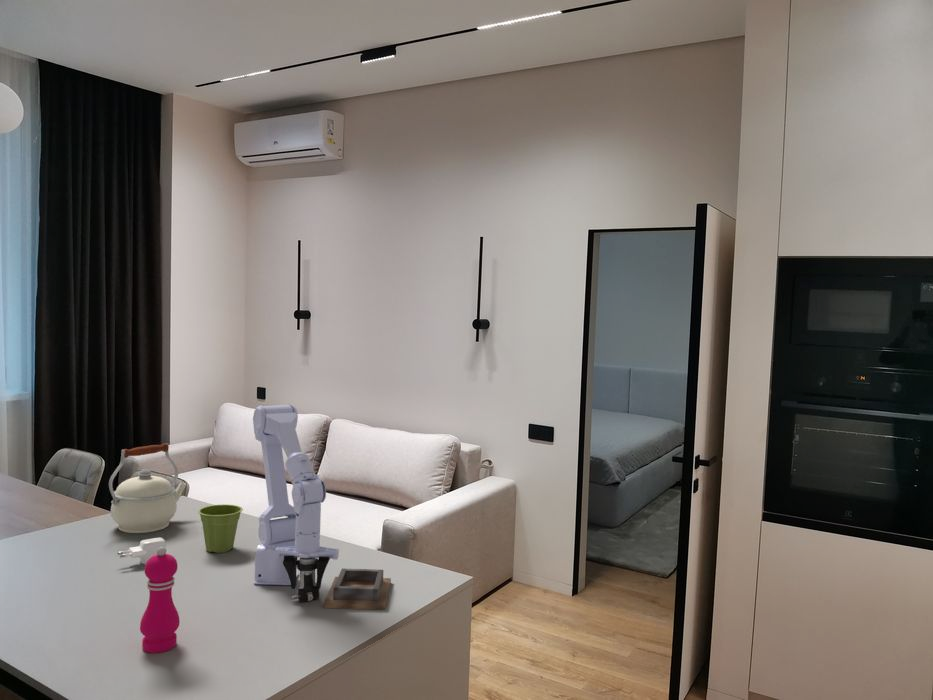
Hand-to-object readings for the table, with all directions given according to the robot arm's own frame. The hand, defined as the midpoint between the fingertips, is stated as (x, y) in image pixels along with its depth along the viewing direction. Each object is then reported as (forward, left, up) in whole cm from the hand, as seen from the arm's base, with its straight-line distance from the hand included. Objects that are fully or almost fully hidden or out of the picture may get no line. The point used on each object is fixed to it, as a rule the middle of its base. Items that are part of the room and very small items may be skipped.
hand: (306, 587), depth 162 cm
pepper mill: (-24, -24, -3) cm, 34 cm away
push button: (0, 0, -3) cm, 3 cm away
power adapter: (-47, +20, -3) cm, 51 cm away
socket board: (+12, +4, -3) cm, 13 cm away
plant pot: (-31, +33, -3) cm, 45 cm away
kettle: (-59, +52, -3) cm, 79 cm away
